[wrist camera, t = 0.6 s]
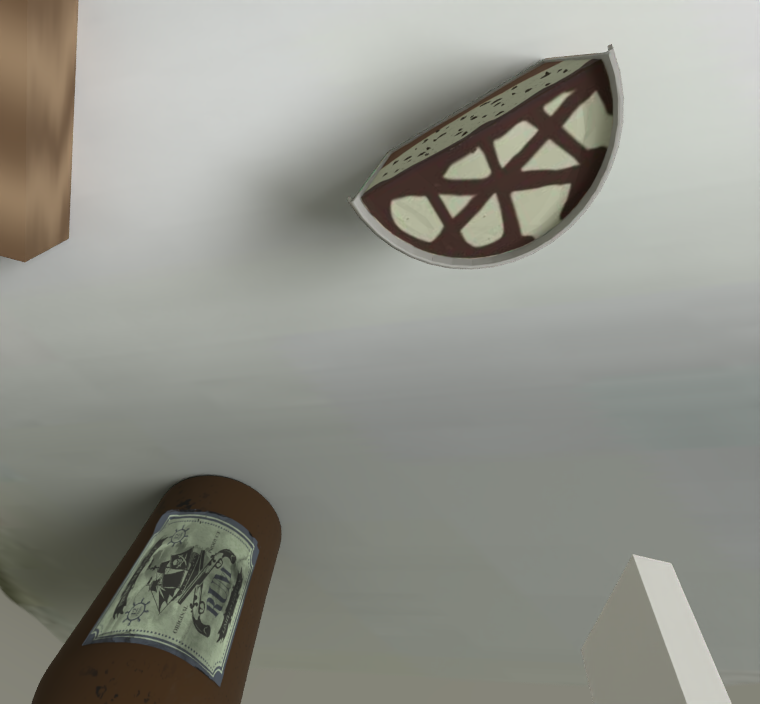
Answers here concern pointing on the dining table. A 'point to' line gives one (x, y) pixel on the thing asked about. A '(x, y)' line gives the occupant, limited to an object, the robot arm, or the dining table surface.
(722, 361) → the dining table surface
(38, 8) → the walnut block
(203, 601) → the brown bottle
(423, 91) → the dining table surface
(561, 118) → the food container
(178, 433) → the dining table surface
